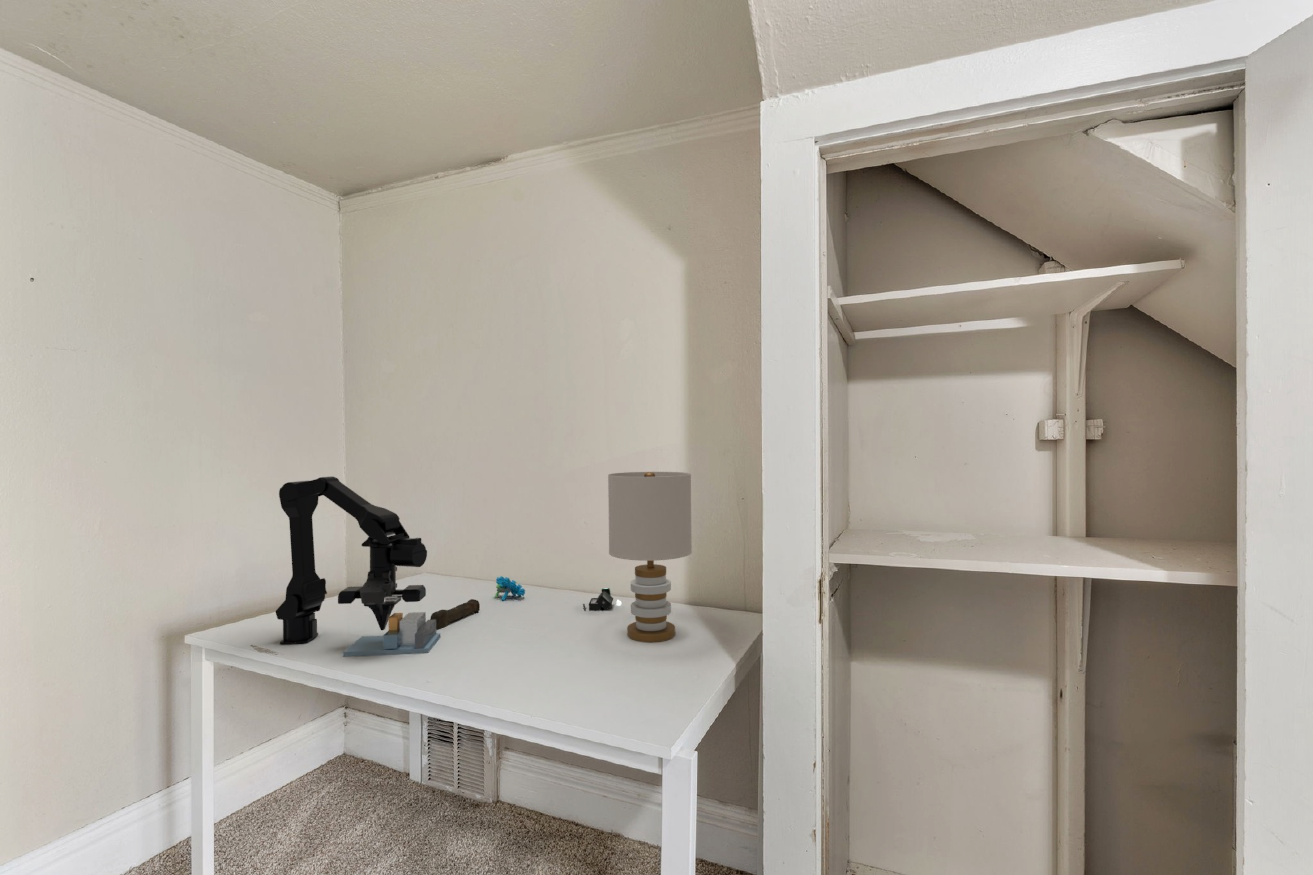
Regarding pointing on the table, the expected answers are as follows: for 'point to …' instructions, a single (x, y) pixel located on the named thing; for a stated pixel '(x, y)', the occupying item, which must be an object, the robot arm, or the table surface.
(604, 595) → the black angled gadget
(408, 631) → the steel block
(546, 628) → the table surface
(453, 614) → the brown wooden stick
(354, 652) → the vise
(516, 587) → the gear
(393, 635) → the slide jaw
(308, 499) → the robot arm
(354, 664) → the table surface
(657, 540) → the lamp
